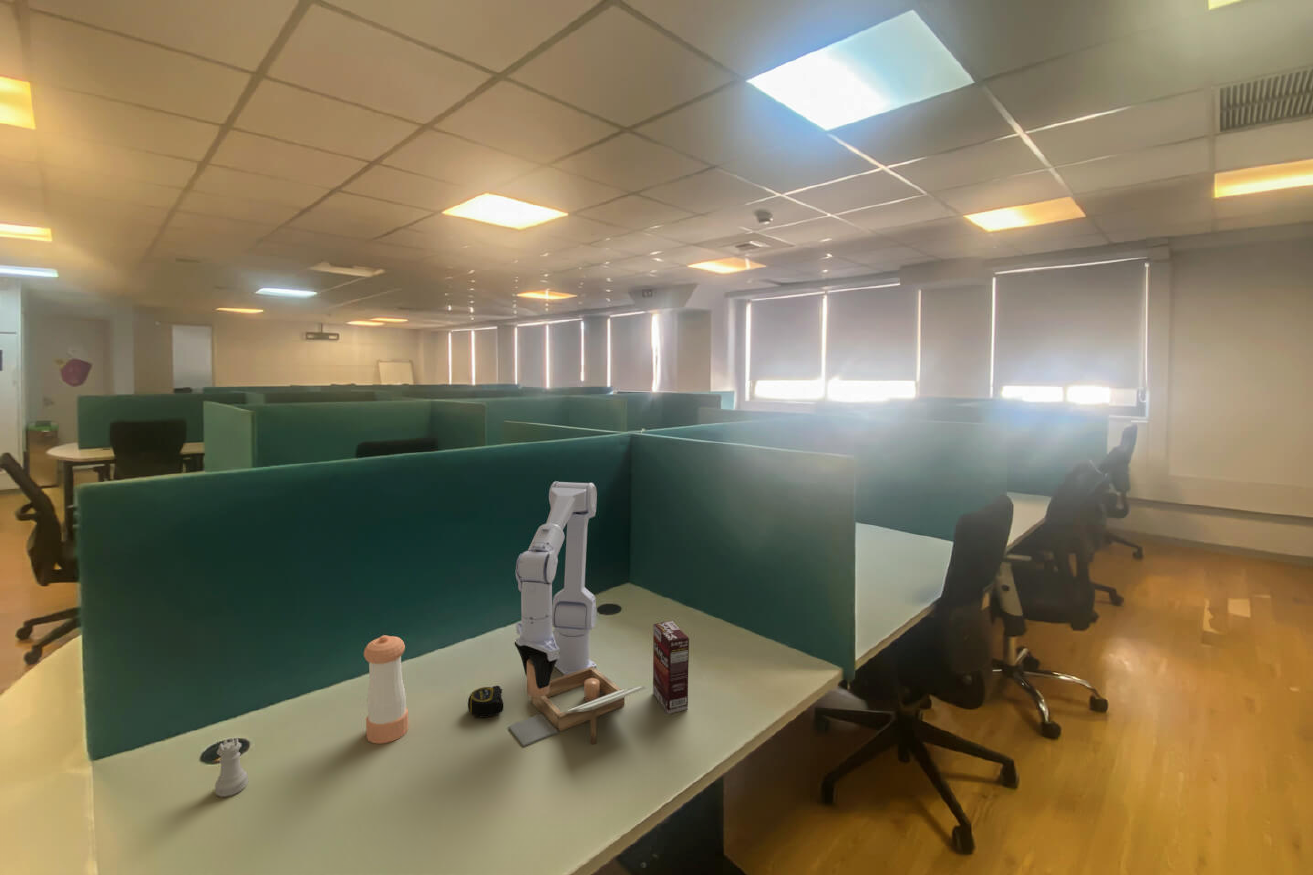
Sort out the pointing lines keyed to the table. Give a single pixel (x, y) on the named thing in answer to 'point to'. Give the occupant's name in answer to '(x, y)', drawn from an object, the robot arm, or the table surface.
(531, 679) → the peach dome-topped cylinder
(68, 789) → the table surface
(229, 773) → the rook chess piece
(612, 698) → the frame
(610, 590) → the table surface
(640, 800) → the table surface
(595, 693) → the tan rounded cylinder
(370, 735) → the pepper shaker
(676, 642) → the supplement box
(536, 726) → the mat
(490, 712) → the tape measure
